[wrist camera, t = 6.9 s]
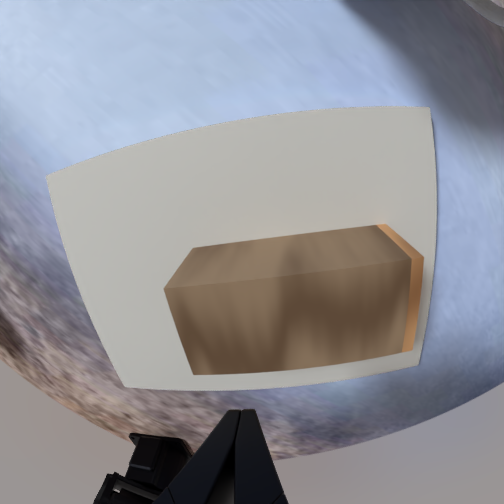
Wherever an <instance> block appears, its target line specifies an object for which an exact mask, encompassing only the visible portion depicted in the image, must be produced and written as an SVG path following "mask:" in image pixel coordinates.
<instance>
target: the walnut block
mask: <svg viewBox="0 0 504 504" xmlns="http://www.w3.org/2000/svg"><path fill="white" fill-rule="evenodd" d="M423 265H424V256H422V255H421V254H420V253H419V252H418V251H417V250H416V249H415V248H414V247H412V246H411V245H410V244H409V243H408V242H407V241H406V240H404V239H403V238H402V237H401V236H400V235H399V234H397V233H396V232H395V231H394V230H393V229H391V228H390V227H389V226H388V225H387V224H379V225H370V226H362V227H353V228H345V229H337V230H328V231H320V232H312V233H304V234H296V235H288V236H280V237H272V238H264V239H256V240H249V241H241V242H233V243H226V244H218V245H211V246H203V247H196V248H192V250H191V251H190V252H189V254H188V255H187V257H186V258H185V259H184V261H183V262H182V263H181V265H180V266H179V268H178V269H177V270H176V272H175V273H174V274H173V276H172V277H171V279H170V280H169V281H168V283H167V284H166V286H165V287H164V288H163V289H164V292H165V295H166V299H167V302H168V305H169V308H170V311H171V314H172V317H173V320H174V323H175V326H176V329H177V332H178V335H179V338H180V341H181V343H182V346H183V349H184V352H185V354H186V357H187V360H188V362H189V365H190V368H191V370H192V373H193V375H224V374H247V373H262V372H275V371H287V370H297V369H306V368H314V367H322V366H330V365H337V364H343V363H350V362H356V361H362V360H368V359H373V358H378V357H384V356H389V355H393V354H398V353H403V352H407V351H412V350H413V344H414V339H415V333H416V327H417V320H418V313H419V305H420V297H421V288H422V278H423Z"/></svg>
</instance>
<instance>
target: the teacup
mask: <svg viewBox="0 0 504 504" xmlns="http://www.w3.org/2000/svg"><path fill="white" fill-rule="evenodd" d="M463 1H464V2H465V3H467V4H468V5H469V6H470V7H471V8H473V9H474V10H475V11H476V12H478V13H479V14H480V15H482V16H483V17H484V18H486V19H488V20H489V21H491V22H493V23H495V24H497V25H499V26H501V27H503V28H504V8H502V7H500V6H498V5H496V4H495V3H493V2H492V1H490V0H463Z"/></svg>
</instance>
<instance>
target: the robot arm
mask: <svg viewBox="0 0 504 504" xmlns="http://www.w3.org/2000/svg"><path fill="white" fill-rule="evenodd" d="M129 438H130V439H131V441H132V442H133V443H134V445H135V446H136V448H135V450H134V452H133V455H132V457H131V460H130V462H129V468H128V470H127V473H126V475H125V477H123V476H121V475H119V474H118V473H116V472H114V474H107V475H106V478H105V480H104V482H103V485H102V487H101V489H100V490H99V492H98V494H97V496H96V498H95V500H94V503H93V504H288V501H287V499H286V496H285V494H284V491H283V488H282V486H281V483H280V480H279V477H278V474H277V472H276V469H275V466H274V463H273V461H272V458H271V455H270V452H269V449H268V446H267V443H266V440H265V438H264V435H263V432H262V429H261V426H260V423H259V420H258V417H257V414H256V411H255V409H244V410H239V409H235V410H228V411H227V412H226V414H225V415H224V416H223V418H222V419H221V420H220V422H219V423H218V424H217V426H216V427H215V428H214V429H213V431H212V432H211V433H210V435H209V436H208V437H207V438H206V440H205V441H204V442H203V444H202V445H201V446H200V447H199V449H198V450H197V451H196V452H195V454H194V455H193V456H191V454H190V453H189V451H188V449H187V448H186V446H185V445H184V443H183V441H182V440H180V439H176V438H166V437H157V436H149V435H142V434H135V433H130V434H129ZM115 489H117V490H119V491H120V493H118V492H116V491H114V490H115Z"/></svg>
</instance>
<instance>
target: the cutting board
mask: <svg viewBox="0 0 504 504" xmlns="http://www.w3.org/2000/svg"><path fill="white" fill-rule="evenodd" d="M46 179H47V184H48V188H49V193H50V197H51V201H52V206H53V210H54V213H55V217H56V221H57V225H58V228H59V232H60V235H61V238H62V242H63V245H64V248H65V251H66V254H67V258H68V261H69V263H70V266H71V269H72V272H73V275H74V278H75V280H76V283H77V286H78V288H79V291H80V294H81V296H82V299H83V301H84V304H85V306H86V308H87V311H88V313H89V316H90V318H91V320H92V323H93V325H94V327H95V329H96V331H97V334H98V336H99V338H100V340H101V342H102V344H103V346H104V348H105V350H106V352H107V354H108V356H109V358H110V360H111V362H112V364H113V366H114V368H115V370H116V372H117V374H118V376H119V377H120V379H121V381H122V383H123V385H124V387H131V388H143V389H160V390H187V391H224V390H252V389H269V388H282V387H293V386H303V385H311V384H320V383H327V382H334V381H341V380H348V379H354V378H360V377H365V376H371V375H376V374H381V373H386V372H391V371H395V370H400V369H404V368H409V367H413V366H417V365H418V364H419V360H420V355H421V351H422V346H423V341H424V336H425V330H426V325H427V319H428V312H429V306H430V299H431V291H432V282H433V273H434V261H435V247H436V224H437V186H436V163H435V149H434V138H433V129H432V121H431V113H430V107H406V106H378V107H349V108H332V109H320V110H309V111H299V112H290V113H282V114H274V115H267V116H260V117H254V118H247V119H241V120H236V121H230V122H225V123H219V124H214V125H210V126H205V127H200V128H196V129H191V130H187V131H182V132H178V133H174V134H170V135H166V136H162V137H159V138H155V139H151V140H148V141H144V142H141V143H137V144H134V145H130V146H127V147H124V148H121V149H117V150H114V151H111V152H108V153H105V154H102V155H99V156H96V157H93V158H91V159H88V160H85V161H82V162H80V163H77V164H74V165H72V166H69V167H66V168H64V169H61V170H59V171H56V172H54V173H51V174H49V175H47V176H46ZM379 224H387V225H388V226H389V227H390V228H391V229H393V230H394V231H395V232H396V233H397V234H399V235H400V236H401V237H402V238H403V239H404V240H406V241H407V242H408V243H409V244H410V245H411V246H412V247H414V248H415V249H416V250H417V251H418V252H419V253H420V254H421V255H422V256H424V265H423V278H422V288H421V297H420V305H419V313H418V320H417V327H416V333H415V339H414V344H413V350H412V351H407V352H403V353H398V354H393V355H389V356H384V357H378V358H373V359H368V360H362V361H356V362H350V363H343V364H337V365H330V366H322V367H314V368H306V369H297V370H287V371H275V372H262V373H247V374H224V375H193V373H192V370H191V368H190V365H189V362H188V360H187V357H186V354H185V352H184V349H183V346H182V343H181V341H180V338H179V335H178V332H177V329H176V326H175V323H174V320H173V317H172V314H171V311H170V308H169V305H168V302H167V299H166V295H165V292H164V289H163V288H164V287H165V286H166V284H167V283H168V281H169V280H170V279H171V277H172V276H173V274H174V273H175V272H176V270H177V269H178V268H179V266H180V265H181V263H182V262H183V261H184V259H185V258H186V257H187V255H188V254H189V252H190V251H191V250H192V248H196V247H203V246H211V245H218V244H226V243H233V242H241V241H249V240H256V239H264V238H272V237H280V236H288V235H296V234H304V233H312V232H320V231H328V230H337V229H345V228H353V227H362V226H370V225H379Z"/></svg>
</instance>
